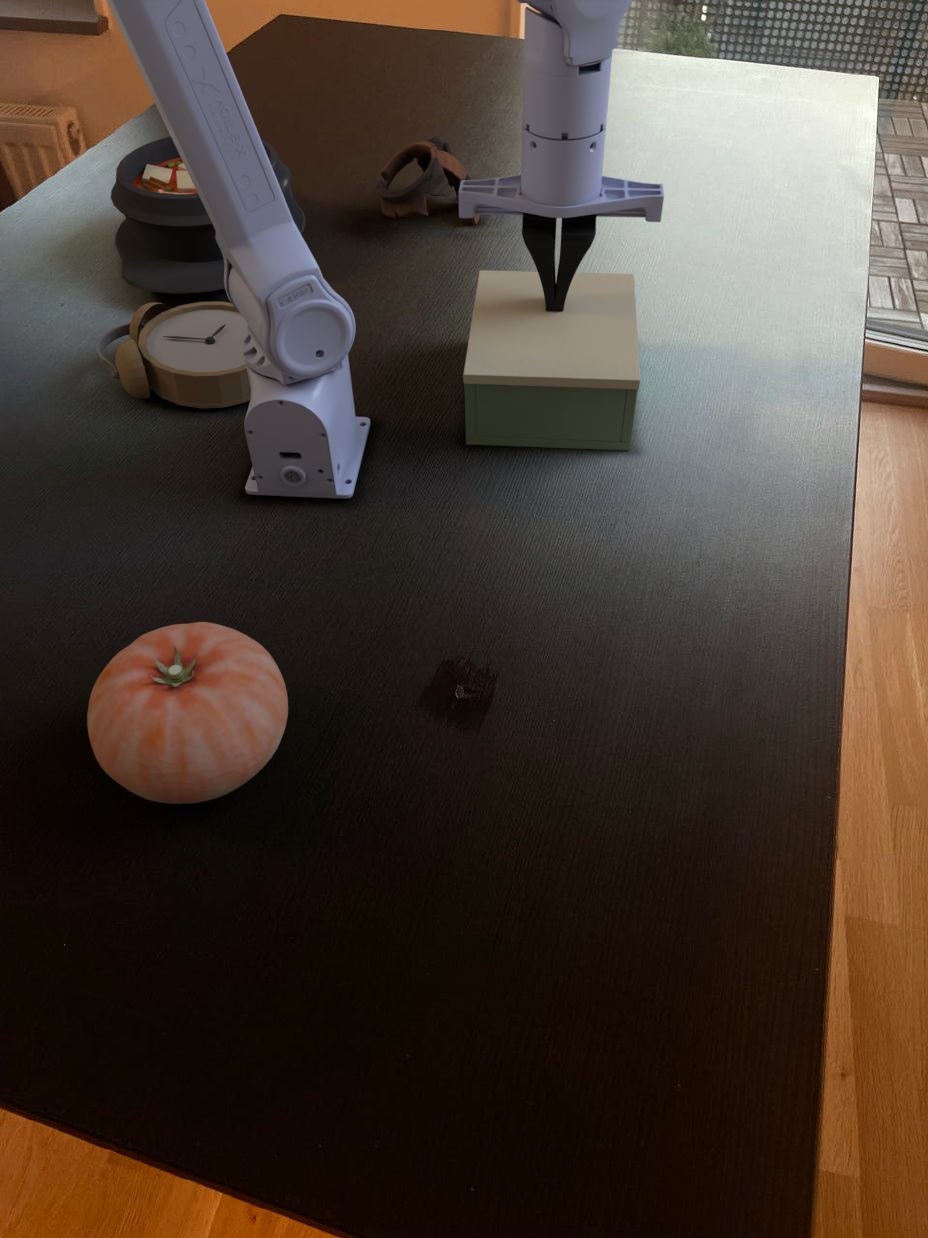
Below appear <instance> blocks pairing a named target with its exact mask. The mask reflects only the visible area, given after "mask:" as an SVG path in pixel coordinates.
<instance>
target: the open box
mask: <svg viewBox="0 0 928 1238" xmlns="http://www.w3.org/2000/svg"><path fill="white" fill-rule="evenodd" d="M638 392H639V389H612V388H582V387H552V386H522V385H492V384H464V420H465V423H464V424H465V425H464V426H465V445H469V446H471V445H473V446H474V445H475V446H500V447H523V448H525V447H526V448H551V449H553V448H554V449H575V450H576V449H579V450H580V449H581V450H605V451H627V452H628V451H631V448H632V440H633V430H634V425H635V424H634V422H635V416H636V407H637V402H638V401H637V400H638Z"/></svg>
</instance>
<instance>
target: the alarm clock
mask: <svg viewBox="0 0 928 1238" xmlns="http://www.w3.org/2000/svg"><path fill="white" fill-rule="evenodd" d="M247 326H248V324H247V322H246V321H245V319H244V318H243V316H242V315H241V313H240V312H239V311H238V310H237V309H236V308H235V307H234V305H233V304H232V303H231V302H228V301H227V302H226V301H198V302H192V303H187V304H182V305H181V304H180V305H178V306H175V307H173V308H170V306H168V305H167V304H165V303H162V302H148V303H145V304H143V305H141V306H140V307H139V308H138V309H137V310H136V311H135V312H134V314H133V316H132V317H131V319H130V322H128V323H124V324H120V325H117V326H115V327H113V328H111V329H109V330H107V331H105V332H104V333H103V334H102V335H101V336H100V338H98V340H97V342H96V346H95V347H96V348H95V349H96V355H97V360H98V362H99V364H100V366H101V367H102V368H103V369H104V370H106V371H107V372H109V373H110V377H111V379H114V380H117V381H118V382H120V384H121V386H122V387H123V388H124V389H125V391H126V392H127V393H128V394H130V395H131V396H132V397H135V398H137V399H150V398H151V391H153V392H154V393H155V394H156V395H158V397H160V398H161V399H163V400H165V401H169V402H170V403H173V404H176V405H178V406H183V407H190V408H196V409H222V408H227V407H232V406H236V405H240V404H245V403H247V402H250V399H251V387H250V382H249V378H248V373H247V368H246V363H245V358H244V354H243V346H244V337H245V332H246V328H247ZM126 336H129V338H130V339H128V340H126V341H124V342H123V343H121V344H120V345H119V346H118V348H117V350H116V354H115V365H114V364H113V363H112V362H111V360H108V359H107V358H105V356H103V353H104V351H105V350H106V348H107V347H108V346H109V345H110V344H111V343H113V342H114V341H116V340H118V339H120V338H123V337H126ZM150 390H151V391H150Z"/></svg>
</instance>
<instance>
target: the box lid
mask: <svg viewBox="0 0 928 1238" xmlns="http://www.w3.org/2000/svg"><path fill="white" fill-rule="evenodd" d="M557 273H558V271H555V275H556V280H557ZM635 284H636V283H635V274H634V273H605V272H604V273H603V272H575V275H574V277H573V279H572V282H571V284H570V287H569V290H568V293H567V296H566V300H565V304H564V311H563V312H553V311H546V307H545V298H544V292H543V288H542V284H541V280H540V277H539V274H538V271H524V270H489V269H488V270H486V269H485V270H484V269H482V270H481V269H480V270H479V272H478V278H477V284H476V291H475V297H474V304H473V310H472V315H471V316H472V317H471V322H470V328H469V335H468V341H467V347H466V348H467V349H466V355H465V361H464V367H463V375H462V378H463V379H462V380H463V384H464V385H465V384H492V385H522V386H552V387H582V388H612V389H638V390H640V386H641V370H640V367H641V366H640V352H639V337H638V336H639V335H638V334H639V333H638V320H637V319H638V317H637V301H636V286H635Z"/></svg>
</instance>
